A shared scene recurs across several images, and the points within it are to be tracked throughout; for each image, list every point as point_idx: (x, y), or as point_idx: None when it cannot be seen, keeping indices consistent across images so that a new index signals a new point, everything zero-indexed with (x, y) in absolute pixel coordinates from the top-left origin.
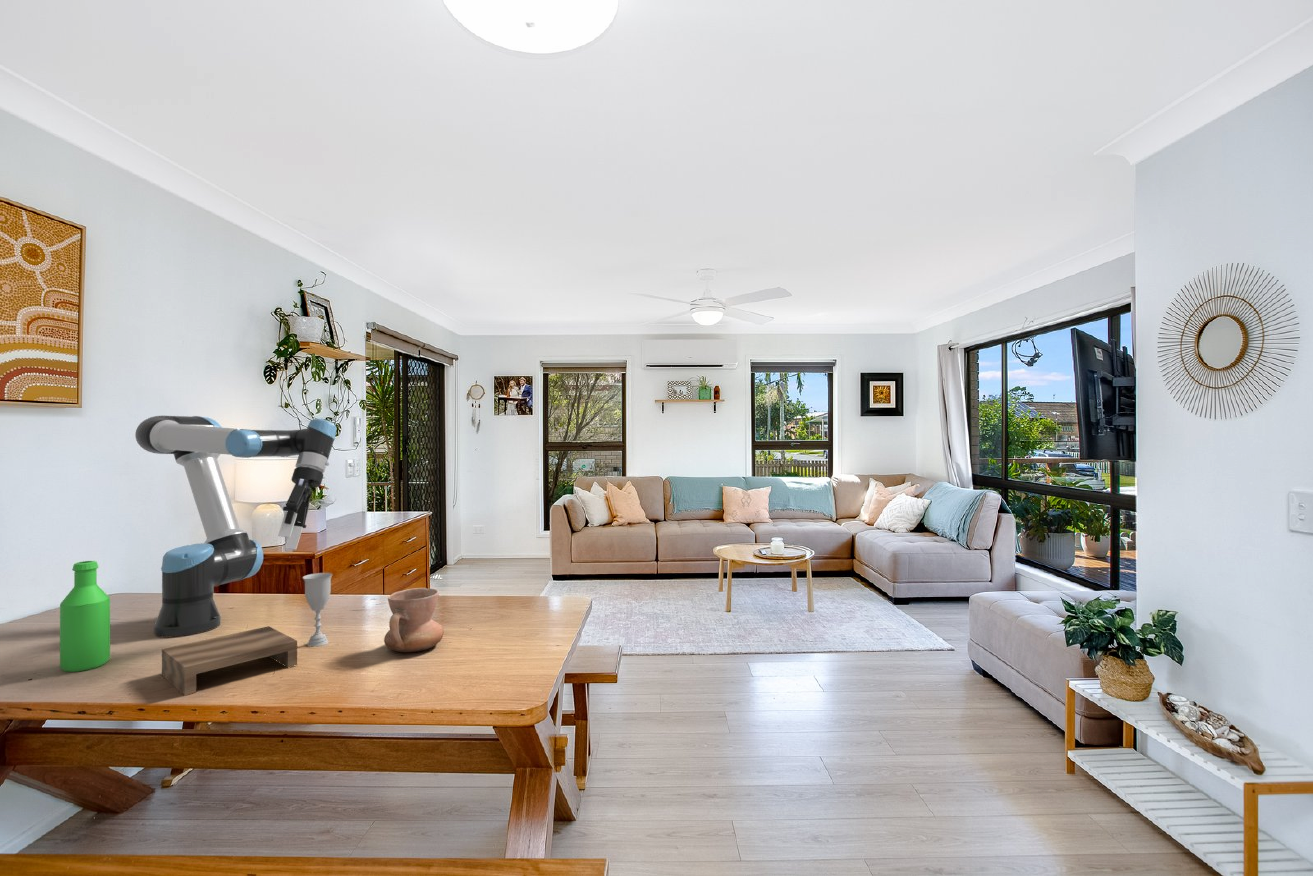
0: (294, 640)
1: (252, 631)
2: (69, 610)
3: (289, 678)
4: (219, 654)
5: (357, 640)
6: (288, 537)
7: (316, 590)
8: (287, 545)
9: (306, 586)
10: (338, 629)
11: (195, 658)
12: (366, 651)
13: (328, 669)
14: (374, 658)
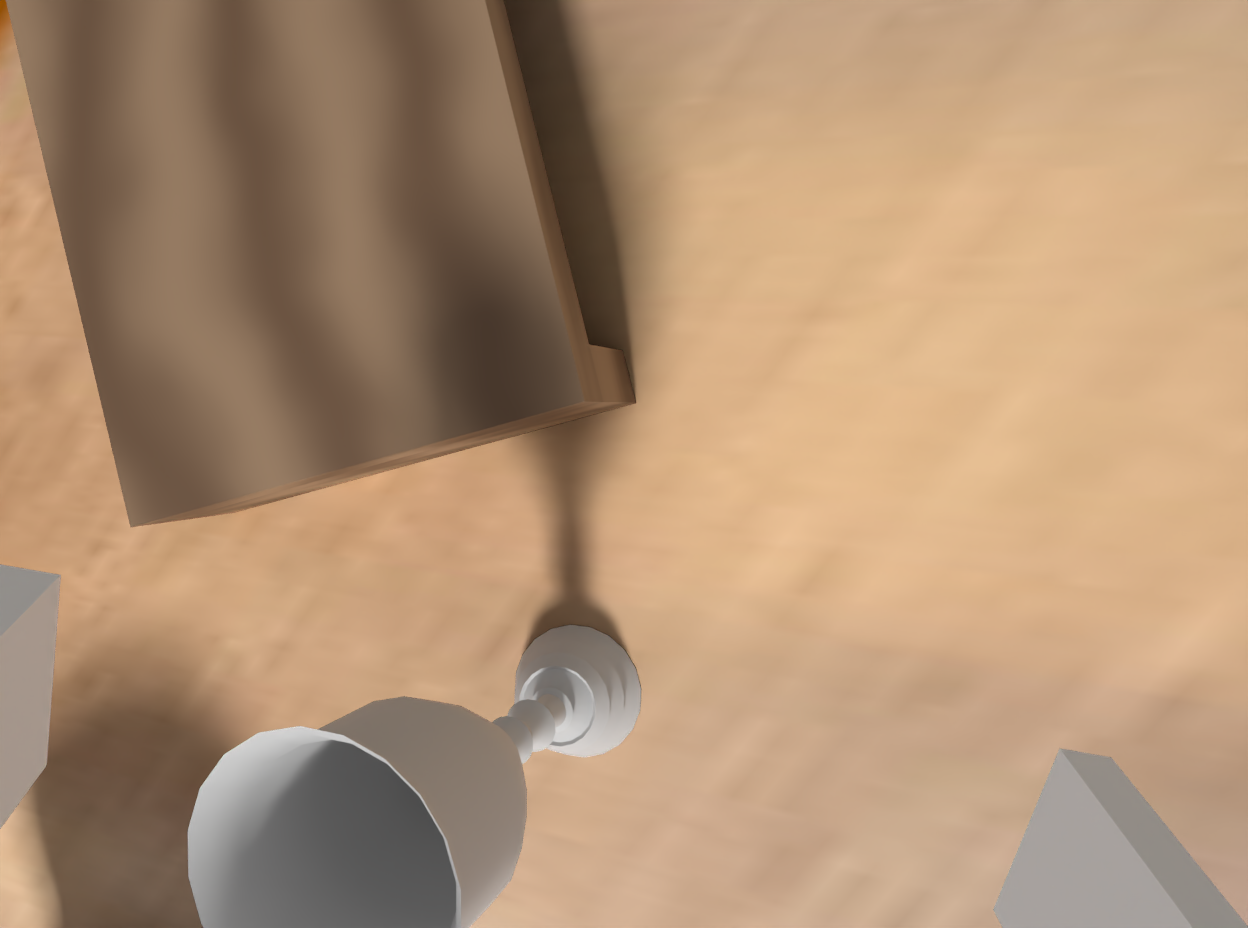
0: (143, 513)
1: (505, 288)
2: None
3: (78, 454)
4: (110, 104)
5: (492, 910)
6: (1177, 911)
7: (286, 792)
8: (1071, 807)
9: (321, 729)
10: (845, 891)
11: None
12: None
13: (97, 638)
14: (127, 874)
